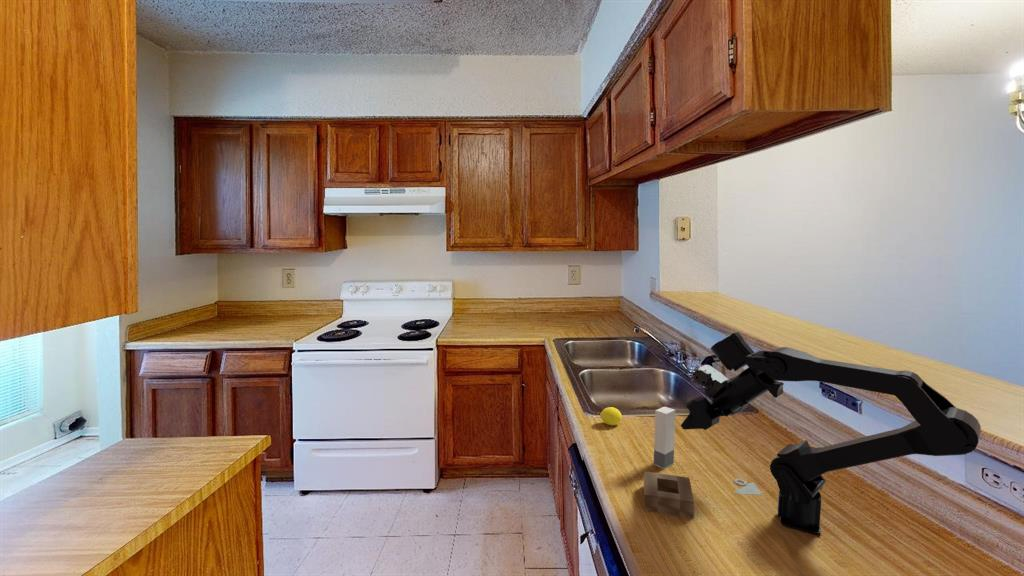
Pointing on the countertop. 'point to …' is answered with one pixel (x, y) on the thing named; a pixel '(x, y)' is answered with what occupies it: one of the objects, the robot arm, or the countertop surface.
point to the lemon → (611, 416)
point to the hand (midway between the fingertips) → (692, 422)
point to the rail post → (664, 437)
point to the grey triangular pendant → (747, 488)
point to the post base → (668, 494)
